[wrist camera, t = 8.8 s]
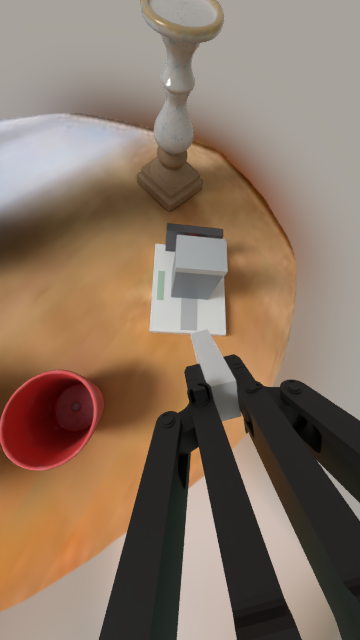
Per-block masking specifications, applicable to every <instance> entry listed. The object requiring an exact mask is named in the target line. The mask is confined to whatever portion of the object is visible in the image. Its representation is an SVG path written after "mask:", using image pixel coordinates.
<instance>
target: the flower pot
mask: <svg viewBox="0 0 360 640" xmlns="http://www.w3.org/2000/svg"><path fill="white" fill-rule="evenodd" d="M103 409H104V398H103V395H102V392H101V391H100V389H99V388H98V387H97V386H96V385H95V384H93V383H92V382H91V381H89V380H88V379H86V378H84V377H83V376H81V375H79V374H77V373H74V372H71V371H67V370H52V371H47V372H44V373H41V374H39V375H37V376H35V377H33V378H31V379H29V380H28V381H26V382H25V383H24V384H23V385H22V386H20V387H19V388H18V389H17V390H16V391H15V393H14V394H13V395H12V396H11V398H10V399H9V401H8V403H7V404H6V406H5V408H4V411H3V413H2V416H1V421H0V442H1V446H2V449H3V451H4V453H5V454H6V456H7V457H8V458H9V459H10V460H11V461H12V462H13V463H15V464H16V465H18V466H20V467H22V468H25V469H28V470H36V471H39V470H48V469H52V468H55V467H58V466H60V465H62V464H64V463H66V462H68V461H69V460H71V459H72V458H73V457H75V456H76V455H77V454H78V453H79V452H80V451H81V450H82V449H83V448H84V446H85V445H86V444H87V442H88V441H89V439H90V438H91V436H92V434H93V433H94V431H95V429H96V427H97V425H98V423H99V421H100V418H101V416H102V413H103Z"/></svg>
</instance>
